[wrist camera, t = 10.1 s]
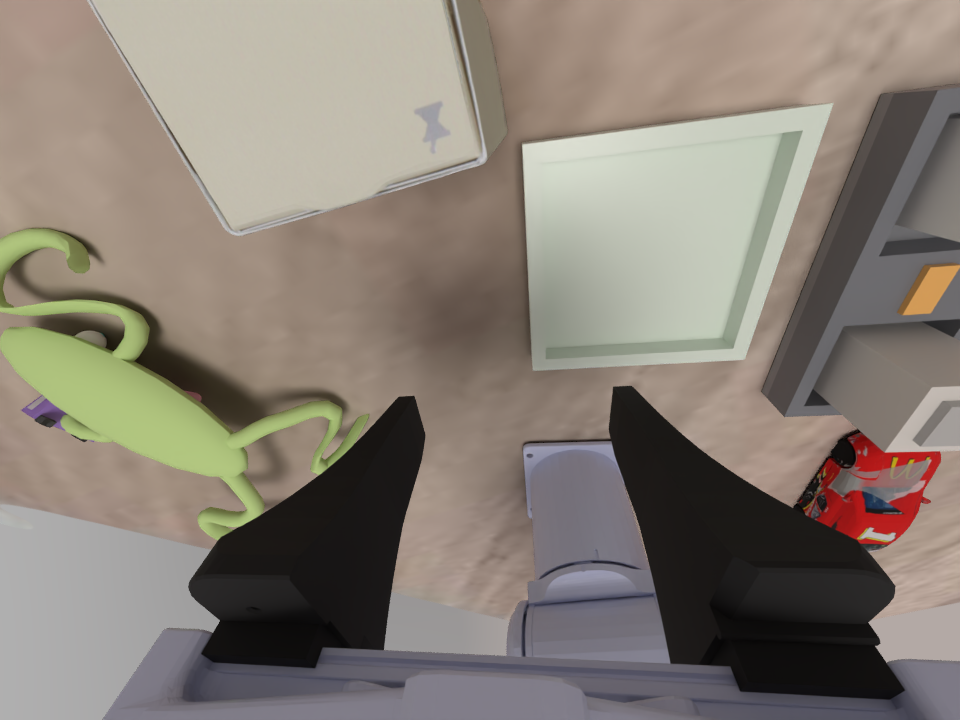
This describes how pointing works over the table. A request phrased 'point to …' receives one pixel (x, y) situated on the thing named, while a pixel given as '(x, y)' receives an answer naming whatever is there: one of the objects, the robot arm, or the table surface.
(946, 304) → the strip
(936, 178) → the plug
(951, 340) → the twin plug
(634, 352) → the tray
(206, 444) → the figurine
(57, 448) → the table surface
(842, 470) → the race car
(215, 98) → the skincare box
